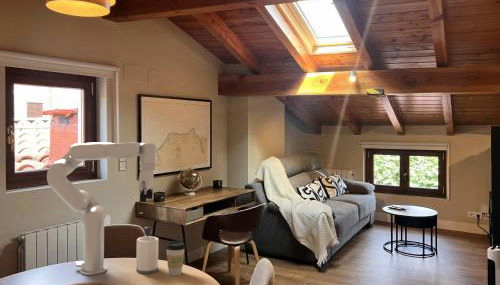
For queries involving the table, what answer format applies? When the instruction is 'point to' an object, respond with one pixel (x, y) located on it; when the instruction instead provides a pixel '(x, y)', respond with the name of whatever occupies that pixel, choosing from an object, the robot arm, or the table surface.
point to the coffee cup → (175, 257)
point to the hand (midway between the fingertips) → (146, 200)
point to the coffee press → (147, 255)
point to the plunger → (147, 231)
